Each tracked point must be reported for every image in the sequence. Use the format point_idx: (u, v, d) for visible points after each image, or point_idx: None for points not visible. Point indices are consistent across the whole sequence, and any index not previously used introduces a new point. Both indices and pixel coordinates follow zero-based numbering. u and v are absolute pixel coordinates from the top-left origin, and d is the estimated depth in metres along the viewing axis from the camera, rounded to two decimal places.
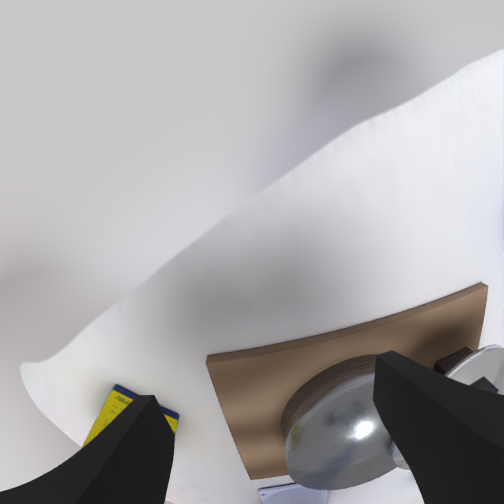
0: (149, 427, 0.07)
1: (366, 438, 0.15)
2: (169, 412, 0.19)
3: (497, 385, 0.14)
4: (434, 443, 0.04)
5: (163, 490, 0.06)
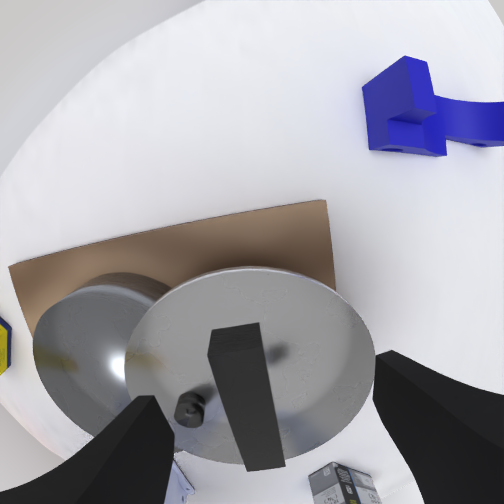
0: (149, 427, 0.07)
1: (94, 367, 0.13)
2: (4, 323, 0.18)
3: (329, 357, 0.12)
4: (434, 443, 0.04)
5: (162, 490, 0.06)
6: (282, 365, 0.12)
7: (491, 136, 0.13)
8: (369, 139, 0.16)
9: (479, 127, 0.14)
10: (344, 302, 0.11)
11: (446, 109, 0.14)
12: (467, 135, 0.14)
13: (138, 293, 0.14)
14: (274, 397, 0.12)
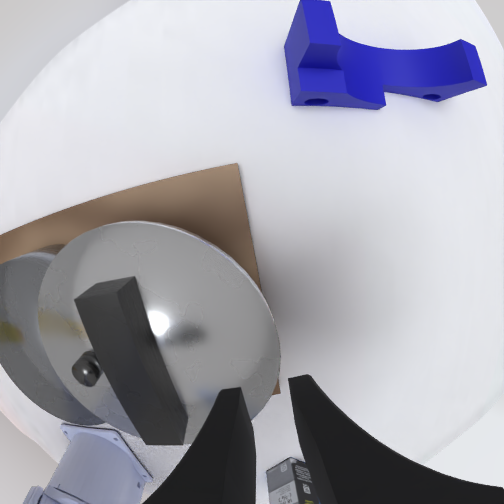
0: (243, 421, 0.07)
1: (25, 328, 0.12)
2: None
3: (216, 322, 0.11)
4: (322, 485, 0.04)
5: None
6: (166, 327, 0.11)
7: (439, 82, 0.12)
8: (291, 95, 0.15)
9: (424, 74, 0.13)
10: (221, 256, 0.11)
11: (383, 59, 0.14)
12: (411, 83, 0.14)
13: None
14: (166, 364, 0.12)
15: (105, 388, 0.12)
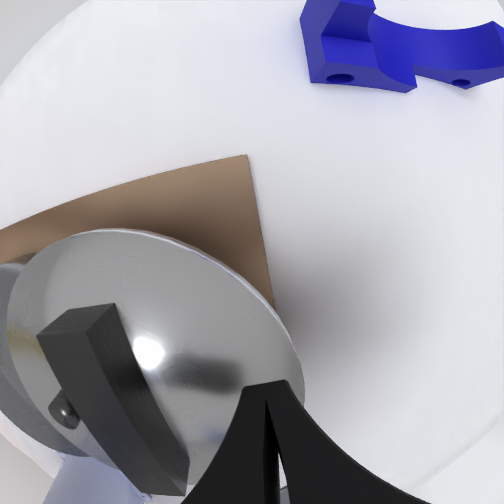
0: (269, 417, 0.07)
1: (0, 351, 0.09)
2: None
3: (224, 362, 0.08)
4: None
5: (275, 485, 0.06)
6: (158, 367, 0.08)
7: (472, 65, 0.09)
8: (309, 70, 0.12)
9: (456, 56, 0.10)
10: (230, 279, 0.08)
11: (411, 37, 0.11)
12: (442, 65, 0.11)
13: None
14: (160, 408, 0.09)
15: None
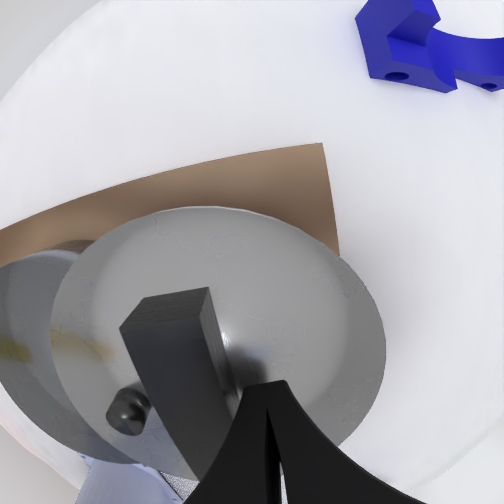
0: None
1: (38, 352, 0.09)
2: None
3: (319, 344, 0.08)
4: None
5: (276, 485, 0.06)
6: (249, 355, 0.08)
7: (501, 71, 0.09)
8: (369, 66, 0.12)
9: (487, 63, 0.10)
10: (337, 257, 0.08)
11: (449, 43, 0.11)
12: (476, 71, 0.11)
13: None
14: None
15: (148, 431, 0.09)
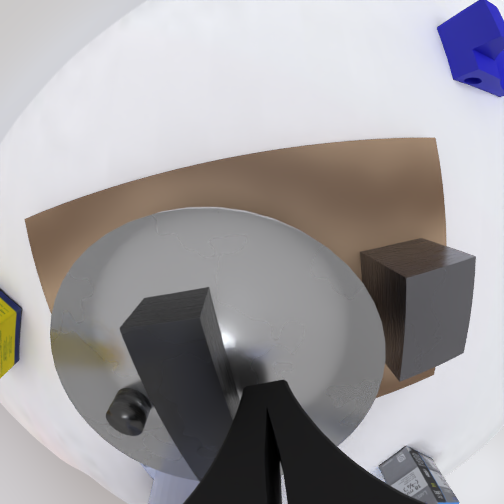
0: None
1: None
2: (12, 302, 0.14)
3: (319, 344, 0.08)
4: None
5: (276, 485, 0.06)
6: (249, 355, 0.08)
7: None
8: (452, 70, 0.12)
9: None
10: (336, 258, 0.08)
11: (501, 56, 0.10)
12: None
13: None
14: None
15: (148, 431, 0.09)
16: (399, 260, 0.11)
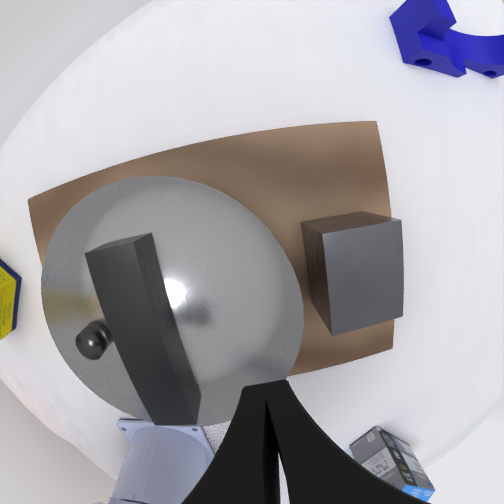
0: (269, 417, 0.07)
1: None
2: (13, 273, 0.17)
3: (237, 282, 0.11)
4: None
5: (275, 485, 0.06)
6: (182, 289, 0.11)
7: (499, 61, 0.11)
8: (402, 54, 0.14)
9: (488, 54, 0.12)
10: (245, 210, 0.10)
11: (459, 39, 0.13)
12: (480, 60, 0.13)
13: None
14: (180, 332, 0.11)
15: (111, 364, 0.12)
16: (327, 224, 0.14)
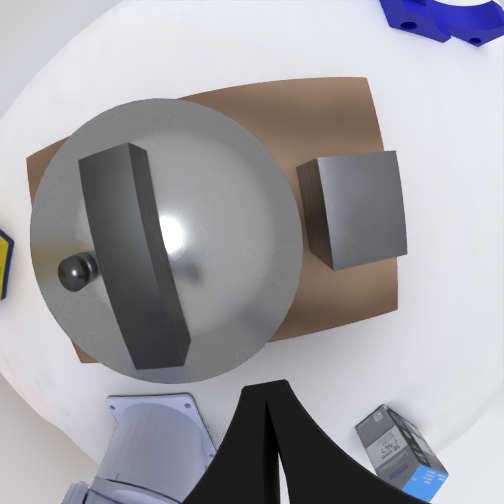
0: (269, 417, 0.07)
1: None
2: (6, 236, 0.16)
3: (231, 198, 0.10)
4: None
5: (275, 485, 0.06)
6: (174, 207, 0.10)
7: (482, 27, 0.11)
8: (388, 19, 0.14)
9: (471, 22, 0.12)
10: (239, 125, 0.10)
11: (442, 9, 0.12)
12: (463, 27, 0.12)
13: None
14: (170, 258, 0.11)
15: (94, 303, 0.11)
16: None
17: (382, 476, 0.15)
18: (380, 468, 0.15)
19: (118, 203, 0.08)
